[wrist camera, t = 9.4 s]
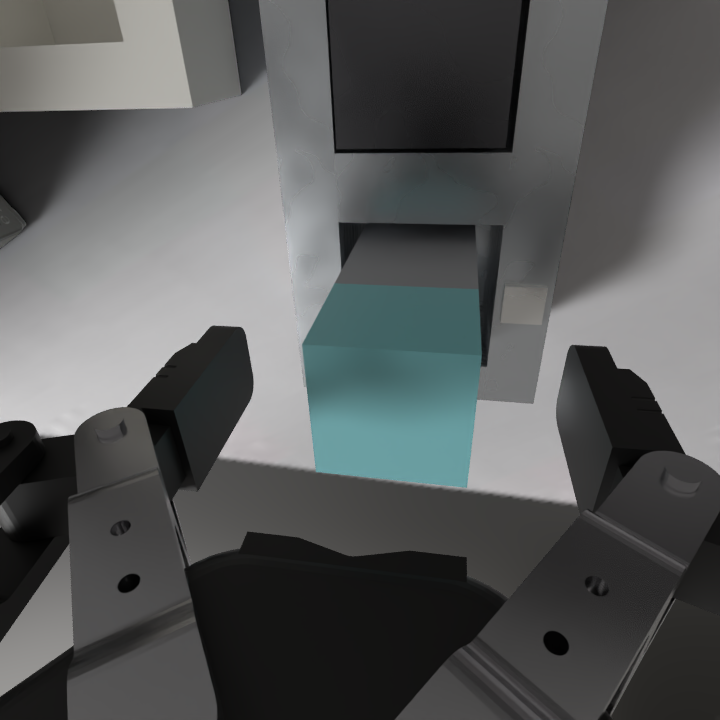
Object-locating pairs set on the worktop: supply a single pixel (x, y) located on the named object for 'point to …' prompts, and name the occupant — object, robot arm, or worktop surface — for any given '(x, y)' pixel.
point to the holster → (115, 54)
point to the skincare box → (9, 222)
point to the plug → (398, 357)
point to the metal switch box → (435, 145)
